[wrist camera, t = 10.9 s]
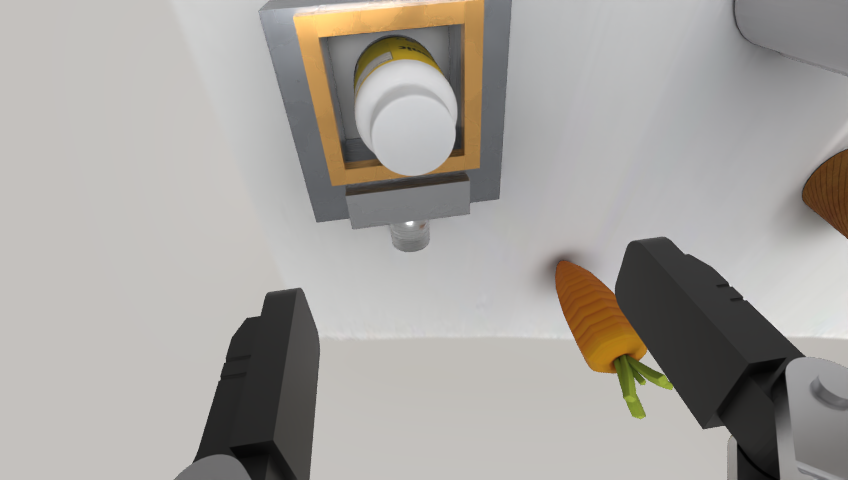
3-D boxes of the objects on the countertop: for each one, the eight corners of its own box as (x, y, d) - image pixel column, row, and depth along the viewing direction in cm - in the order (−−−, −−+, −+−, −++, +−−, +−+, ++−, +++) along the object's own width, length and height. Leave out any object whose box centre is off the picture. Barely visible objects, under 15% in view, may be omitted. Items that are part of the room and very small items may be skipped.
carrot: (566, 232, 37) (666, 377, 25) (596, 256, 39) (700, 398, 28) (525, 267, 39) (600, 416, 27) (556, 288, 41) (637, 433, 30)
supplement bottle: (452, 82, 27) (492, 144, 20) (391, 133, 29) (406, 209, 21) (400, 11, 24) (422, 51, 17) (335, 73, 26) (328, 136, 18)
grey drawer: (494, -20, 24) (521, -9, 20) (484, 217, 35) (501, 254, 31) (269, 0, 23) (252, 16, 19) (330, 237, 34) (327, 278, 30)
